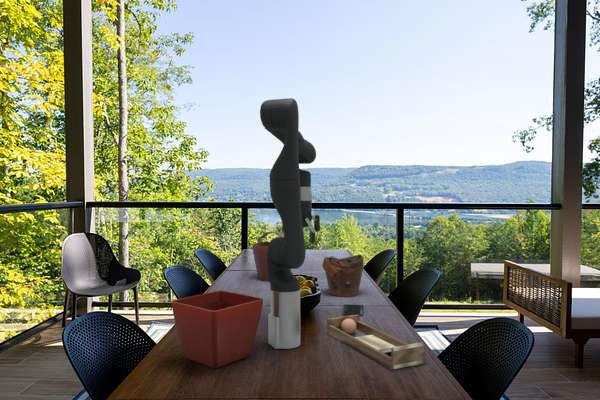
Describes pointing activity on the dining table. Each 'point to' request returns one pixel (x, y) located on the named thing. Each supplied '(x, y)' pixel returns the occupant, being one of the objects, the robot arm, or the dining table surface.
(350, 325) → the ball
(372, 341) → the track
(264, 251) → the bucket
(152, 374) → the dining table surface
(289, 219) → the robot arm
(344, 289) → the terracotta flower pot
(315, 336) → the dining table surface
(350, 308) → the phone
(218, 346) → the plant pot
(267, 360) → the dining table surface
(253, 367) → the dining table surface
